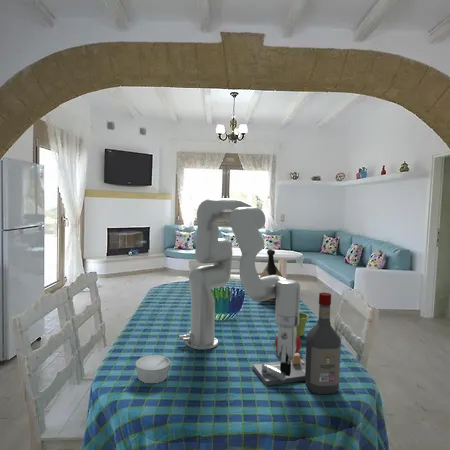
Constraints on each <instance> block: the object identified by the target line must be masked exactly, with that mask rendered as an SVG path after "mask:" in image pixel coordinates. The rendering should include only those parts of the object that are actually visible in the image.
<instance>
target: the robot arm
mask: <svg viewBox="0 0 450 450" xmlns="http://www.w3.org/2000/svg"><path fill="white" fill-rule="evenodd" d="M217 222H229V224H230V228H231V230H232V232H233V234H234V238H235V240H236V242H237V246H238V248H239V249H240V252H241V256H240V260H239V277H240V281H241V283H242V285H243V288H244V290H245V292H246V294H247V296H248V298H250V300H252V301H254V302H258V303H259V302H263V301H265V302H266V300H268V299H273V298H276V301H275V318H274V322H275V324H276V325H277V326H278V328H277V336H278V352H277V356H278V357H279V358H280V361H281V362H280V371H282V372H284V373H286V375H285V376H290V374H291V362H290V361H291V360H292V358H293V357H294V354H295V351H296V326H298V325H299V312H300V303H301V301H300V300H301V284H300V282H298V281H297V280H294V279H287V278H284V276H282V277H281V276H278V275H270V276H265V277H260V276H259V274H258V272H257V268H256V257H257V255H258V254H259V253H261V251H262V250H263V249H264V248H265V244H266V243H265V241H264V239H263V237H262V234H261V232H260V230H261V229H262V228H263V227H264V226H265V224H266V216H265V213H264V211H263V210H262V209H261V208H259V207H258V206H256V205H254V204H251V203H248V202H246V201H244V200H242V199H240V198H239V199H238V198H221V197H220V198H219V197H218V198H209V199H208V198H207V199H205V200H203V201H202V202H200V204H199V205H198V207H197V210H196V223H197V226H196V227H197V228H196V229H197V230H196V237H195V238H196V240H195V250H194V253H195V254H194V257H195V260H196V262H197V263H200V264H204V265H201V266H196V267H195V268H192V270H190V272H189V275H188V283H189V291H190V330H189V332H188V333H186V334H179V335H178V340H179V341H183V343H184V342H186V345H187V346H188V347H189V348H191V349H193V350H194V349H195V350H198V351H199V350H201V351H203V350H205V351H206V350H211V349H214V348H216V347H218V345H219V339H217V338H216V337H215V329H216V328H215V326H216V325H215V324H216V323H215V320H216V318H215V313H216V312H215V311H216V306H215V305H216V303H215V302H216V299H215V297H214V295H213V293H212V291H211V290H212V289H217V288H221V287H224V286H226V285H228V283H229V281H230V277H231V271H232V270H231V269H232V261H233V247H232V244H231V242H230V241H229V240H228V239H227V238H224V237H223V238H222V237H220V238H219V235H220V229H219V225H218V223H217ZM205 264H207V265H205Z"/></svg>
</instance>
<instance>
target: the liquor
mask: <svg viewBox="0 0 450 450" xmlns="http://www.w3.org/2000/svg"><path fill="white" fill-rule="evenodd" d="M331 305H332V294H331V293H329V292H319V294H318V319H317V322H316V324H315V325H314V326H313V327H312V328H311V329H309V330H308V332H307V333H306V340H305V341H306V345H305V359H306V367H305V380H304V381H305V384H306V386H307V387H308V388H309V390H310V392H312V393H314V394H317V395H334V394H336V392H337V391H338V390H339V389H340V370H341V367H340V365H341V345H342V340H341V337H340V335H338V332H336V331H335V329H334V327H332V325H331V324H332V323H331Z"/></svg>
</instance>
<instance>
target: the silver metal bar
mask: <svg viewBox="0 0 450 450" xmlns="http://www.w3.org/2000/svg"><path fill="white" fill-rule="evenodd" d="M268 363H269V362H263V364H262V372H264V373H268V374H270V375H272V376H274V377H276V378H278V379H280V380H282V381H284V380H285V375H286V373H284V372H282V371H280V370H278V369H276V368H274V367H272V366H270V365H269V364H268Z"/></svg>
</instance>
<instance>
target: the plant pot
mask: <svg viewBox="0 0 450 450" xmlns="http://www.w3.org/2000/svg"><path fill="white" fill-rule="evenodd" d="M308 318H309V315H308V314H307V313H304V312H301V311H299V325H298V326H296V335H297V336H298V337H299V338H300V337H303V336H304V335H305V331H306V330H305V328H306V325H307V321H308Z"/></svg>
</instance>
